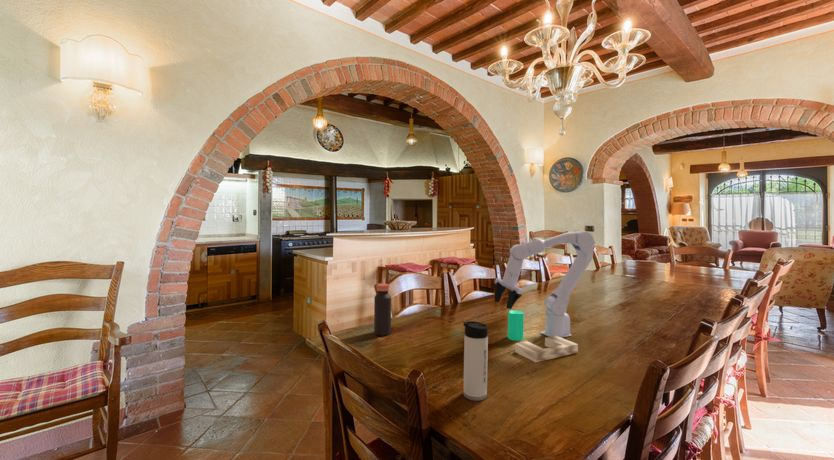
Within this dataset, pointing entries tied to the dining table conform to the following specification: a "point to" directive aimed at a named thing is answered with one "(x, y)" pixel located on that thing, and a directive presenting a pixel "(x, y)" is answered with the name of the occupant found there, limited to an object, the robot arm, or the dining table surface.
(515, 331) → the green prism block
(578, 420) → the dining table surface
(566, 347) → the cream flat frame
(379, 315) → the bottle
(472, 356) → the travel mug
